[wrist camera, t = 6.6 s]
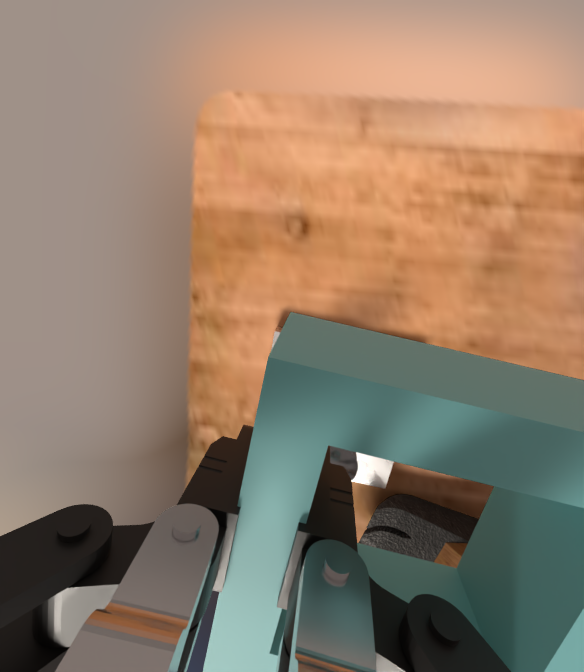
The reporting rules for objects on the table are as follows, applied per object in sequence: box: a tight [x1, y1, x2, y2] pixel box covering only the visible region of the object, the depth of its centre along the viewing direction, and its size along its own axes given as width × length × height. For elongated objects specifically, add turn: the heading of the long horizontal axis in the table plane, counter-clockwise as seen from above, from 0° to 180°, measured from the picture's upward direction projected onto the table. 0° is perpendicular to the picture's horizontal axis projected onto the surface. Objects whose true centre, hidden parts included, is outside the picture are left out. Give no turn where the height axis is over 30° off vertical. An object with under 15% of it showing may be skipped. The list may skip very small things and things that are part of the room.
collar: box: [203, 312, 584, 672], centre depth 10 cm, size 9×9×4 cm
